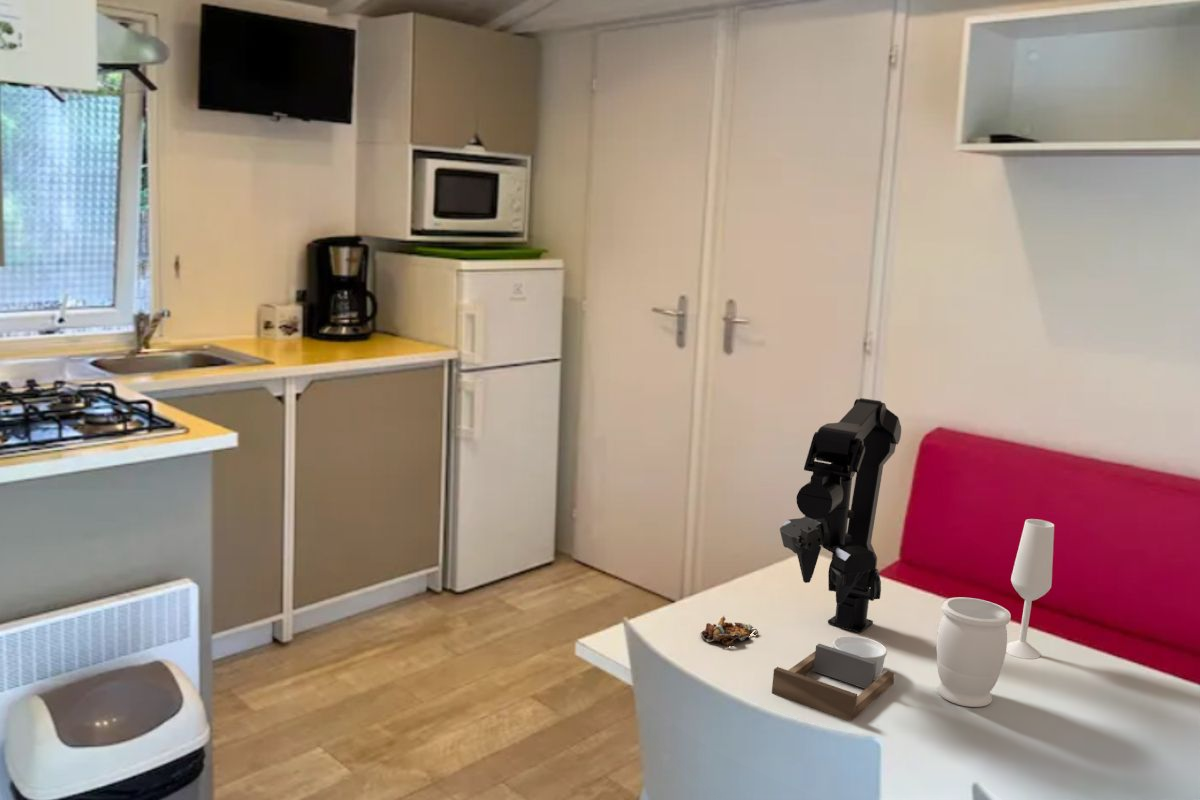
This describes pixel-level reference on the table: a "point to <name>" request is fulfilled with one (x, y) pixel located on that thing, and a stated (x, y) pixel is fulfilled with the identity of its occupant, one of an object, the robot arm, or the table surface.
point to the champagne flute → (1032, 577)
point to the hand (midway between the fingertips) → (822, 592)
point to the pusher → (844, 666)
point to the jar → (970, 649)
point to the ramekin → (863, 649)
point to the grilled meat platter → (727, 632)
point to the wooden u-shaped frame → (826, 690)
